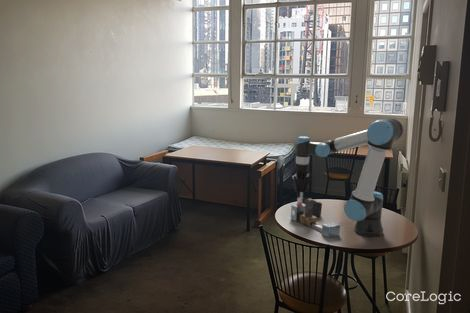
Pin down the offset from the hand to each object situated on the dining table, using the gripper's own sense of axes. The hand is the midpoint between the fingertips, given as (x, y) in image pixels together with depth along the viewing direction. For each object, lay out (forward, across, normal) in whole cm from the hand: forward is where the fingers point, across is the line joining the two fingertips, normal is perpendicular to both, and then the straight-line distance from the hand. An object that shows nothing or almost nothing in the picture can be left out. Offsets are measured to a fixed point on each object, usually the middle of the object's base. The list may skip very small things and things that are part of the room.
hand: (299, 202), depth 240 cm
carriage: (+11, 0, +8) cm, 14 cm away
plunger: (+5, 0, 0) cm, 5 cm away
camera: (+11, -15, -6) cm, 20 cm away
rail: (+11, 0, +14) cm, 17 cm away
